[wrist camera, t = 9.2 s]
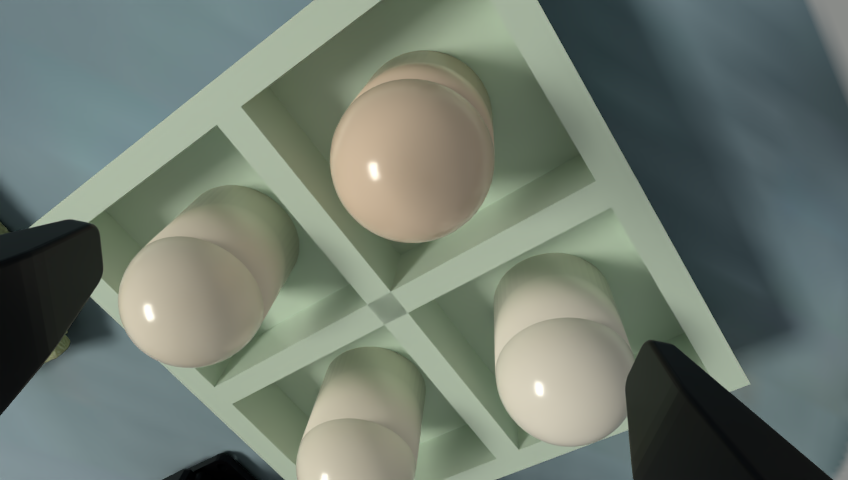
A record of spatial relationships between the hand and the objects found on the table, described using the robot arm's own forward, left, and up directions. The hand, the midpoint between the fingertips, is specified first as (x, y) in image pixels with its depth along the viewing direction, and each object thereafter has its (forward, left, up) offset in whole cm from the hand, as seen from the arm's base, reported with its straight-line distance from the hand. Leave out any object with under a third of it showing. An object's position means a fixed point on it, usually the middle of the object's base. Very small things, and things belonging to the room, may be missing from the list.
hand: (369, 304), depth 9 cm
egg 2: (-9, +9, -11) cm, 16 cm away
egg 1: (0, +9, -11) cm, 14 cm away
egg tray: (-4, +4, -12) cm, 13 cm away
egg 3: (-9, 0, -11) cm, 14 cm away
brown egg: (0, 0, -11) cm, 11 cm away
